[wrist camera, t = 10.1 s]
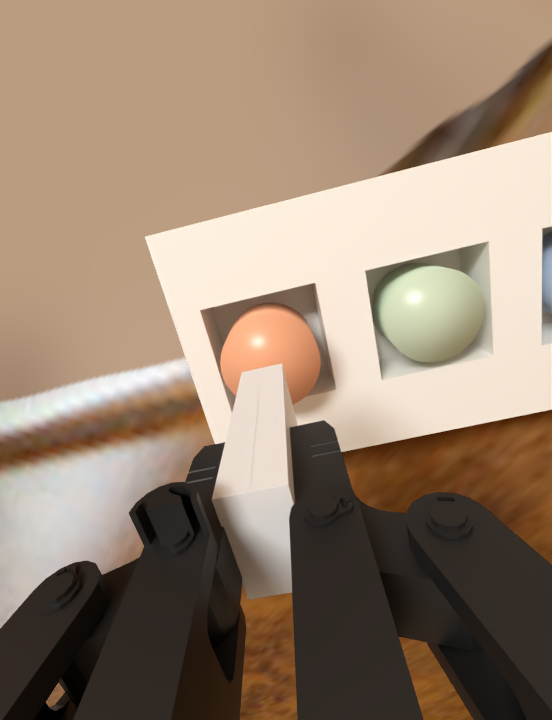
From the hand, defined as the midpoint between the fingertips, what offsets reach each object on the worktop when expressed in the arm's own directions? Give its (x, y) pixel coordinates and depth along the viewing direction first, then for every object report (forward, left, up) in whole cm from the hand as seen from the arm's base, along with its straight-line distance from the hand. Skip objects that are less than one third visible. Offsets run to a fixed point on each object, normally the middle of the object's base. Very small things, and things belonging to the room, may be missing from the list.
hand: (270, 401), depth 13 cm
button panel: (+8, 0, -10) cm, 13 cm away
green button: (+8, 0, -9) cm, 12 cm away
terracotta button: (0, 0, -7) cm, 7 cm away
